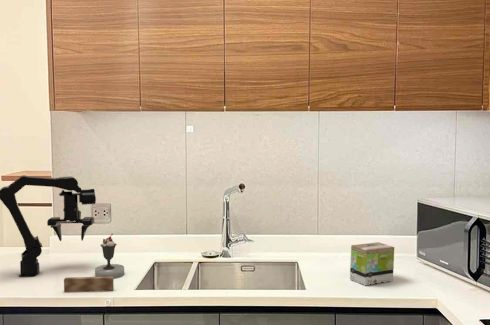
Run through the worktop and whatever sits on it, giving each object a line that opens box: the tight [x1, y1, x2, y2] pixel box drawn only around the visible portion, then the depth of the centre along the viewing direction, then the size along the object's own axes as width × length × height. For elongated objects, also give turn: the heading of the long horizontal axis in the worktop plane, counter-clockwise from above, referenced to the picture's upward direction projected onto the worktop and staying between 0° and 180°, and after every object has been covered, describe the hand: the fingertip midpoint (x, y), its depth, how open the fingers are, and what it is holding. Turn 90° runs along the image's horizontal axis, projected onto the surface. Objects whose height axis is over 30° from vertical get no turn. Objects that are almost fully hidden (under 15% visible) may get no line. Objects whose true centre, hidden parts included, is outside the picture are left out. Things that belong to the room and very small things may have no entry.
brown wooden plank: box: [63, 276, 115, 293], centre depth 182 cm, size 18×2×5 cm, turn 95°
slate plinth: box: [94, 263, 125, 280], centre depth 202 cm, size 12×12×3 cm
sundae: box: [100, 233, 118, 270], centre depth 202 cm, size 7×7×15 cm
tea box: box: [349, 241, 395, 286], centre depth 196 cm, size 15×10×15 cm, turn 117°
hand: (71, 240), depth 209 cm, fingers open, 9 cm apart
